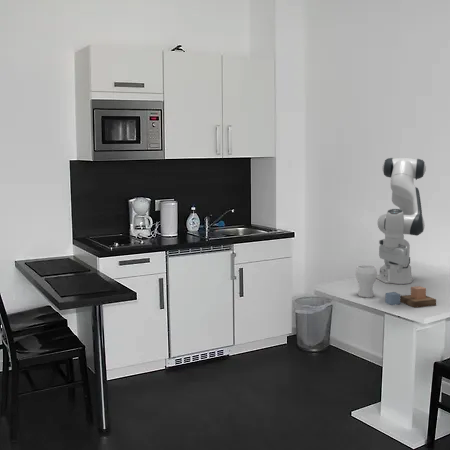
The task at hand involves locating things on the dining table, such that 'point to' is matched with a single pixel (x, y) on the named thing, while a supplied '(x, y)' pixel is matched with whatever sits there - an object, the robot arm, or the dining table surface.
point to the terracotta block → (418, 292)
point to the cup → (366, 279)
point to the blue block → (392, 298)
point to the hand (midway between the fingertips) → (393, 270)
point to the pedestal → (418, 301)
